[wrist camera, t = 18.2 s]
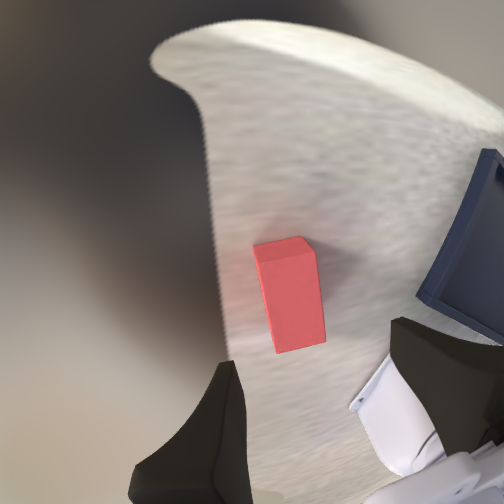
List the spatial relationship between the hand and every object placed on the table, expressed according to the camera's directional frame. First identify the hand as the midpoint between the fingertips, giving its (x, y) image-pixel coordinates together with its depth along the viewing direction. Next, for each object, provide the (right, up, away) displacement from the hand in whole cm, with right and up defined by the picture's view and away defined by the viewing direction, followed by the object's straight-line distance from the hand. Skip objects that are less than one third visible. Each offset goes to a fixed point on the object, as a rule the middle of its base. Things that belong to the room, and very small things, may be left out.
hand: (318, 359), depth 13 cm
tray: (+22, +3, +9) cm, 24 cm away
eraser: (-1, +3, +8) cm, 8 cm away
